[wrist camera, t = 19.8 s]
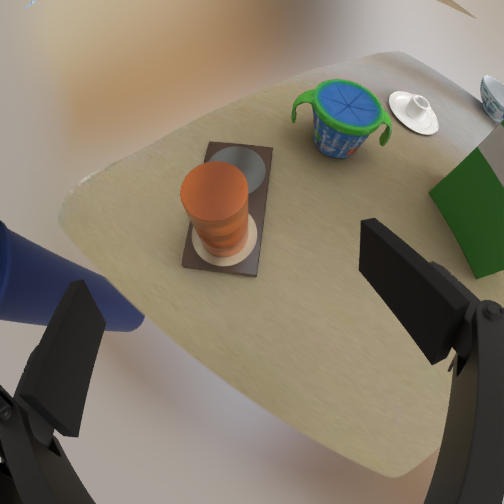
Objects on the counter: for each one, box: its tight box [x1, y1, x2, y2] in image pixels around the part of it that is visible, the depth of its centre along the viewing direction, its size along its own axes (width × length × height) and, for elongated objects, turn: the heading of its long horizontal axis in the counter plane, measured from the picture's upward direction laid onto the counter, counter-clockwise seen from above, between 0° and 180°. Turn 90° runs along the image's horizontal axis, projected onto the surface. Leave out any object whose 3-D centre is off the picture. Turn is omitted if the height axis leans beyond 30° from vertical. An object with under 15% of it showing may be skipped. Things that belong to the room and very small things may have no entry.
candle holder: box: [389, 91, 438, 135], centre depth 46 cm, size 12×12×4 cm
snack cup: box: [292, 79, 392, 159], centre depth 40 cm, size 16×10×10 cm
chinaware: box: [480, 75, 504, 121], centre depth 47 cm, size 15×15×8 cm
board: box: [182, 142, 273, 277], centre depth 41 cm, size 10×20×1 cm, turn 173°
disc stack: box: [180, 161, 248, 257], centre depth 33 cm, size 6×6×13 cm
